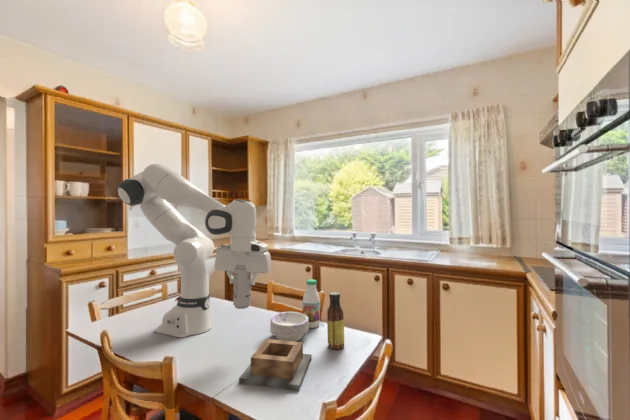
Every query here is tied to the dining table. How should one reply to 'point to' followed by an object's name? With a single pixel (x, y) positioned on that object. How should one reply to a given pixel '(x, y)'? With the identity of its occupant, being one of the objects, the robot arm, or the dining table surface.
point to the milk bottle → (311, 304)
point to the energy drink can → (241, 287)
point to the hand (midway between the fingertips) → (242, 284)
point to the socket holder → (277, 365)
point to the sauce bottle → (335, 322)
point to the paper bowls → (289, 326)
